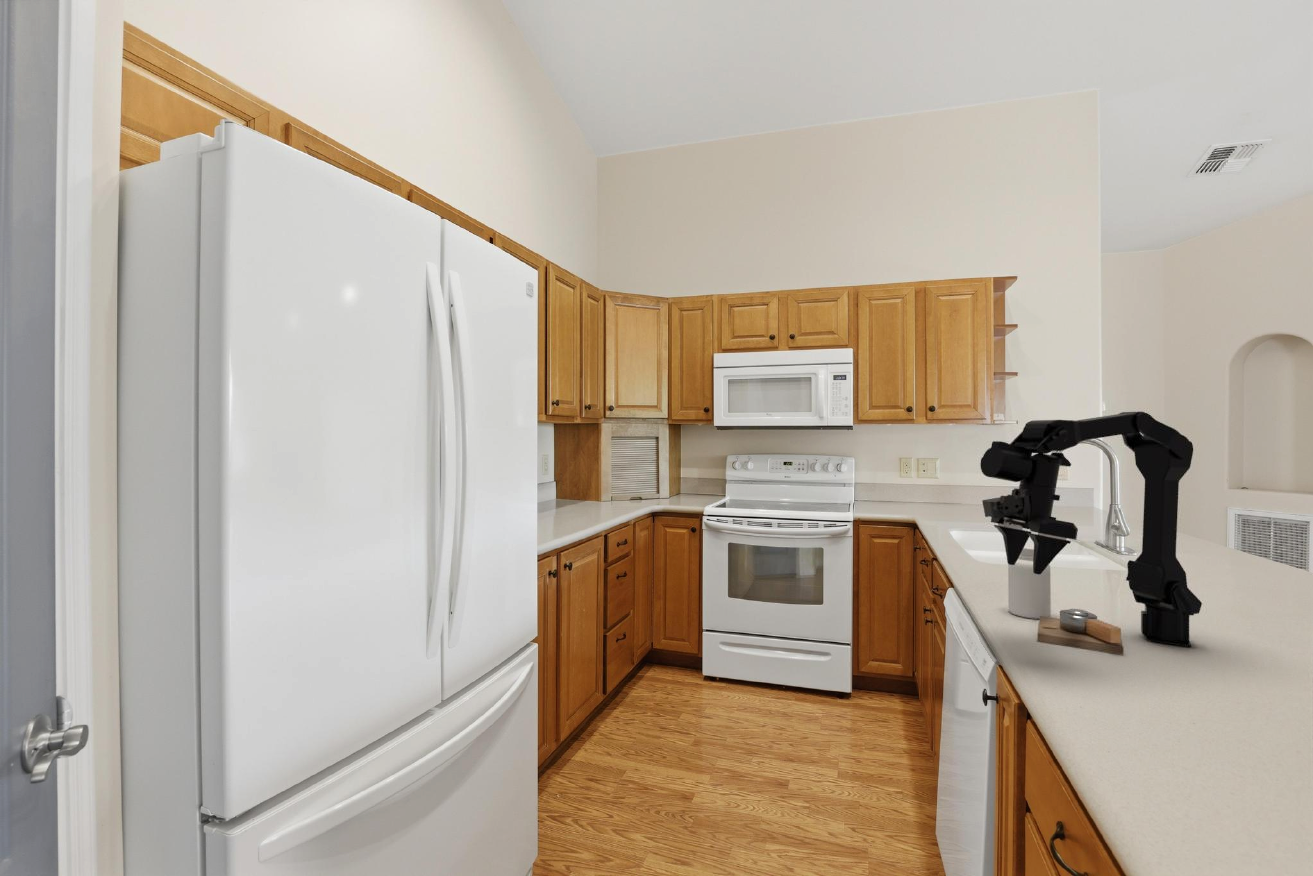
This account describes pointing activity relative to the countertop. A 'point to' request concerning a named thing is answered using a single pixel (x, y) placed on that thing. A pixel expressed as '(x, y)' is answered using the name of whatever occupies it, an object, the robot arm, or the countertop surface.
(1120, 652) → the base plate
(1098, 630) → the metal and wood piece
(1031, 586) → the pill bottle
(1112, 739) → the countertop surface
